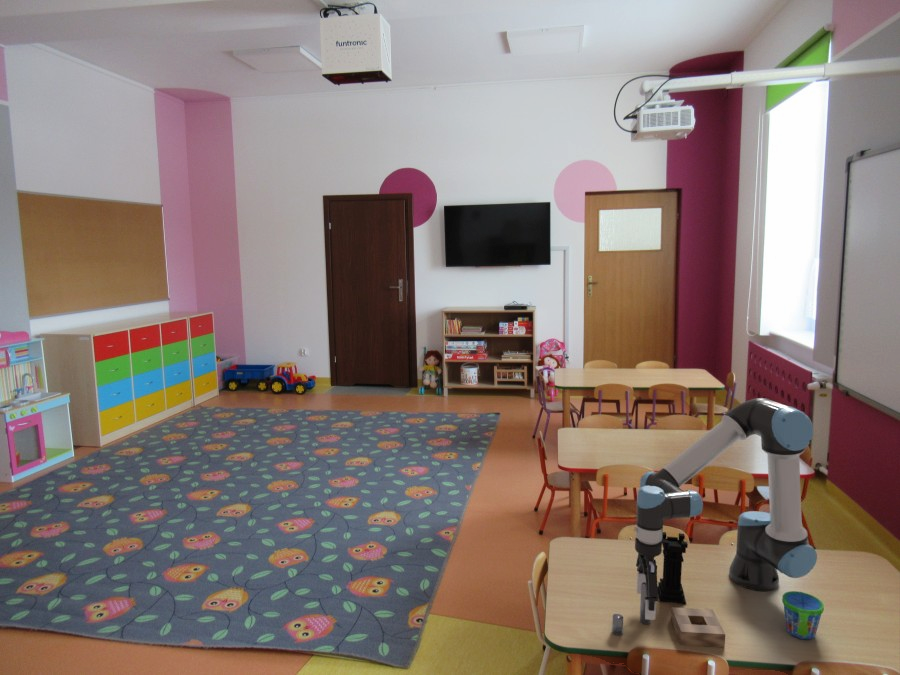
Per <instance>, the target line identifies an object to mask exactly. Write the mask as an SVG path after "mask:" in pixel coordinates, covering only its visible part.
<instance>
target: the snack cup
mask: <svg viewBox="0 0 900 675" xmlns="http://www.w3.org/2000/svg"><path fill="white" fill-rule="evenodd" d="M781 600H782V604H783V611H784V612H783V614H784V622H785V628H786V630H787V633H788V634H790V635H792V636H794V637H795V638H798V639H800V640H811V639H814V638H815V637H816V634H817V631H818V628H819V624H820V621H821V616H822V614H823V612H824V609H825V606H824V603H823V601H821V600H820V599H819V598H817V597H816V596H814V595H812V594H810V593H806V592H802V591H795V590H793V591H787V592H784V593H783V595H782V599H781Z"/></svg>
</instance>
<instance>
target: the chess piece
mask: <svg viewBox="0 0 900 675" xmlns="http://www.w3.org/2000/svg"><path fill="white" fill-rule="evenodd" d="M685 539H686V536H685V533H678V536H677V537H676V536H667V532H666V531H663V537H662V548H663V549H662V553H663V554H662V555H663V569H662V578H661V577H660V578H659V581H657V587H658V602H660V603H668V604H669V603H671V604H678V605H679V604H680V605H687V600H686V596H685V593H684V587H683V585H682V567H683V565H682V564H683V563H684V560H685V559H684V556H683V554H686V552H687V550H686V549H688V547H689V544H688V541H686V540H685Z"/></svg>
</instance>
